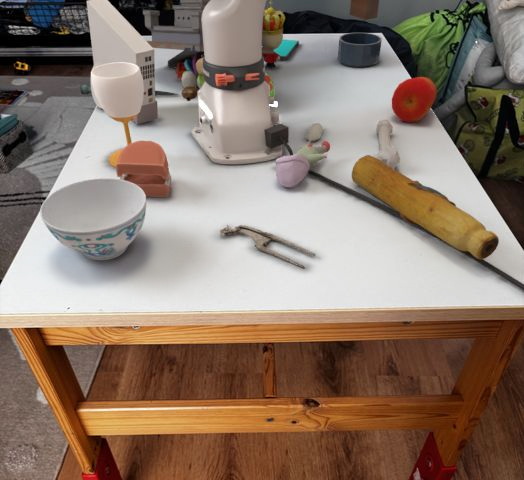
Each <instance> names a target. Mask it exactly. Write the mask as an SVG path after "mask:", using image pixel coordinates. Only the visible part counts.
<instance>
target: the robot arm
mask: <svg viewBox="0 0 524 480" xmlns="http://www.w3.org/2000/svg"><path fill="white" fill-rule="evenodd" d="M266 4H267V0H211V1H209V2H208V4H207V5H206V6H205V8H204V10H203V13H202V19H201V20H202V33H203V45H204V55H203V57H202V58H203V65H202V69H203V75H204V80H205V82H204V84H203V86H202V87H201V88H199V89H198V90H197V91H198V95H197V105H198V107H197V108H198V120H199V121H198V122H199V125H196V126H195V127H193V128H191V136H192V137H193V139H194V140H195V141H196V142H197V144H198V145H199V147H201V149H202V150H203V152H204V153H205V154H206V155H207V157H208V158H209V159H210V161H211V162H213V163H215V164H220V165H246V164H255V163H262V162H268V161H272V160H276V159H277V158H280V157H283V146H284V147H285V149H286V150H287V152H288V156H291V155H294V152H293V150H292V148H291V146H290V145H289V144H288V143H289V141H290V140H289V136H290V127H289V126H287V125H285V124H283V123H281V122H280V116H279V115H280V112H279V110H278V109H271V107H275V108H277V107H278V101H275V96H274V97H270V85H269V84H268V83H266V82H265V81H264V80H265V73H266V63H265V58H264V57H263V56H262V24H263V14H264V10H265V7H266ZM307 175H310V176H312V177H315V178H318V179H319V180H321V181H323V182H326V183H327V184H329V185H332V186H334V187H336V188H338V189H341V190H342V191H345V192H346V193H348V194H350V195H353V196H355V197H356V198H359V199H361V200H363V201H365V202H367V203H369V204H371V205H373V206H374V207H377V208H379V209H381V210H384V212H387V213H388V214H390V215H392V216H394V217H396V218H398V219H400V220H402V221H404V220H403V219H402V217H401V216H400V212H399V211H397V210H396V209H394V208H392V207H390V206H386V205H385V204H382V203H381V202H379V201H377V200H374V199H373V198H371V197H369V196H366V195H364V194H362V193H360V192H359V191H357V190H354V189H352V188H350V187H348V186H346V185H343V184H342V183H339V182H337V181H335V180H333V179H330V178H329V177H327V176H324V175H323V174H320V173H318V172H316V171H313V170H310V169H309V171H308V173H307ZM413 225H414V226H413ZM413 225H412V226H413V227H416V229H419V230H421V231H423V232H425V233H426V234H428V235H430V236H432V237H433V238H436V239H437V240H439V241H441V242H442V243H444V244H447V246H449V247H451V248H453V249H455V250H456V251H457V252H460V253H462V254H463V255H465V256H466V257H468V258H470V259H471V260H472V261H475V262H477V263H478V264H480V265H481V266H483V267H485V268H487V269H488V270H490V271H492V272H493V273H494V274H496V275H498V276H500V277H501V278H503V279H505V280H506V281H508V282H509V283H511V284H513V285H514V286H515V287H517V288H519V290H522V291H524V283H522V281H519V280H518V279H516V278H515V277H513V276H512V275H509V274H508V273H506V271H503V270H502V269H500V268H498V267H496V266H495V265H493V264H491V263H490V262H488V261H487V260H485V259H478V258H476V257H474V256H473V255H472V254H471V253H470V252H469V251H461V250H459V249H457V248H455V247H453V246H451V245H450V244H448V243H447V242H445V241H443V240H442V239H440V238H439V237H437V236H436V235H434V234H433V233H431V232H430V231H428V230H426V229H425V228H423V227H422V226H420V225H419V224H417V223H414V224H413Z"/></svg>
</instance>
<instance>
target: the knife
mask: <svg viewBox="0 0 524 480" xmlns="http://www.w3.org/2000/svg"><path fill="white" fill-rule="evenodd" d="M79 89H80V93H81V95H89V94H92V92H91V86H89V85H88V84H81V85H80V88H79ZM178 95H179V93H175V92H168V91H162V90H155V97H171V96H173V97H174V96H178Z"/></svg>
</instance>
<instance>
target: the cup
mask: <svg viewBox="0 0 524 480" xmlns="http://www.w3.org/2000/svg"><path fill="white" fill-rule="evenodd" d="M90 80H91V81H92V86H93V89H94V93H95V96H96V98H97V100H98V102H99V104H100V106H101V107H102V108H101V109H102V110H103V112H104V113H105V114H106V115H107V116H108V118H110V119H112V120H113V121H116V122H118V123H122V124H123V129H124V133H125V138H126V145H129V144H130V143H133V142H132V137H131V133H130V127H129V122H131V121H133V119H134V118H135V117H136V116H137V115H138V113H139V112H140V110H141V106H142V103H143V95H144V86H143V77H142V74H141V71H140V68H139V67H138V66H137V65H135V64H132V63H125V62H115V63H108V64H103V65H100V66H97V67H95V68H94V69H93V70H92V69H91V71H90ZM91 81H90V82H91ZM123 149H124V148H121V149H119V150H116V151H114V152H113V153H112V154H110V156H109V158H108V162H109V164H110V165H111V166H112V167H114V168H116V167H117V161H118V157H119V155H120V153H121V151H122V150H123Z"/></svg>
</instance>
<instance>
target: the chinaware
mask: <svg viewBox="0 0 524 480" xmlns="http://www.w3.org/2000/svg"><path fill="white" fill-rule="evenodd" d="M146 212H147V196H146V195H145V193H144V191H143V190H142V189H141V188H140V187H139V186H137V185H136V184H134V183H131V182H128V181H125V180H120V178H112V177H111V178H107V177H101V178H91V179H85V180H80V181H77V182H73V183H70V184H67V185H65V186H63V187H60V188H59V189H57V190H55V191H54V192H52V193H50V195H48V196H47V197H46V198H45V200H44V201H43V202H42V204H41V206H40V209H39V214H40V217H41V219H42V222H43V223H44V225H45V227H46V228H47V229H48V232H50V233H51V235H52V236H53V237H54V238H55V239H56V240H57V241H58V242H60V243H61V244H62V245H63V246H65V247H66V248H68V249H69V250H71V251H74V252H76V253H78V254H81V255H85V257H87V258H88V259H89V260H94V261H108V260H112V259H115V258H117V257H120V256H121V255H122V254H124V253H125V251H126V250H127V249H128V246H129V245H130V244H131V243H133V241H134V240H135V239H136V238H137V237H138V235H139V233H140V232H141V230H142V228H143V225H144V222H145V219H146V215H147V213H146Z"/></svg>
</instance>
